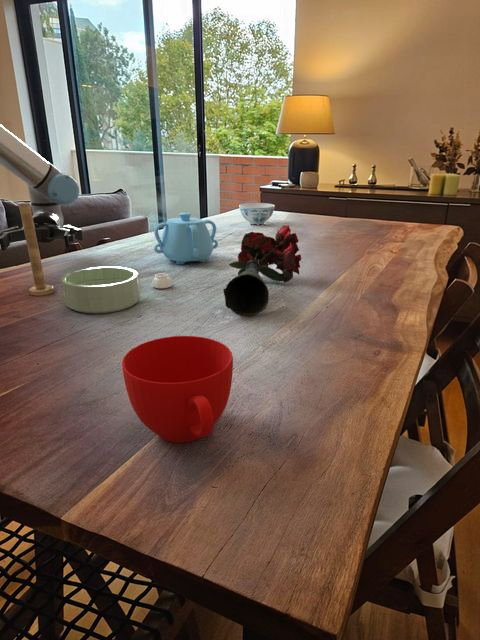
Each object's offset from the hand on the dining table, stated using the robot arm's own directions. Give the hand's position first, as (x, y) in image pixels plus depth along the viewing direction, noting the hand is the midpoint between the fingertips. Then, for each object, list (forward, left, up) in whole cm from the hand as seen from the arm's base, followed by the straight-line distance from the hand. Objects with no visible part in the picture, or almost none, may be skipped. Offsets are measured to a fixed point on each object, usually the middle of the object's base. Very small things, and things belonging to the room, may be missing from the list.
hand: (34, 243), depth 105 cm
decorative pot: (-2, +43, -11) cm, 44 cm away
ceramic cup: (+73, -7, -11) cm, 74 cm away
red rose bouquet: (+36, +39, -11) cm, 54 cm away
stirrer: (+3, -1, -11) cm, 11 cm away
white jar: (+17, +23, -11) cm, 30 cm away
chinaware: (-36, +101, -11) cm, 108 cm away
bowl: (+19, +7, -11) cm, 23 cm away
